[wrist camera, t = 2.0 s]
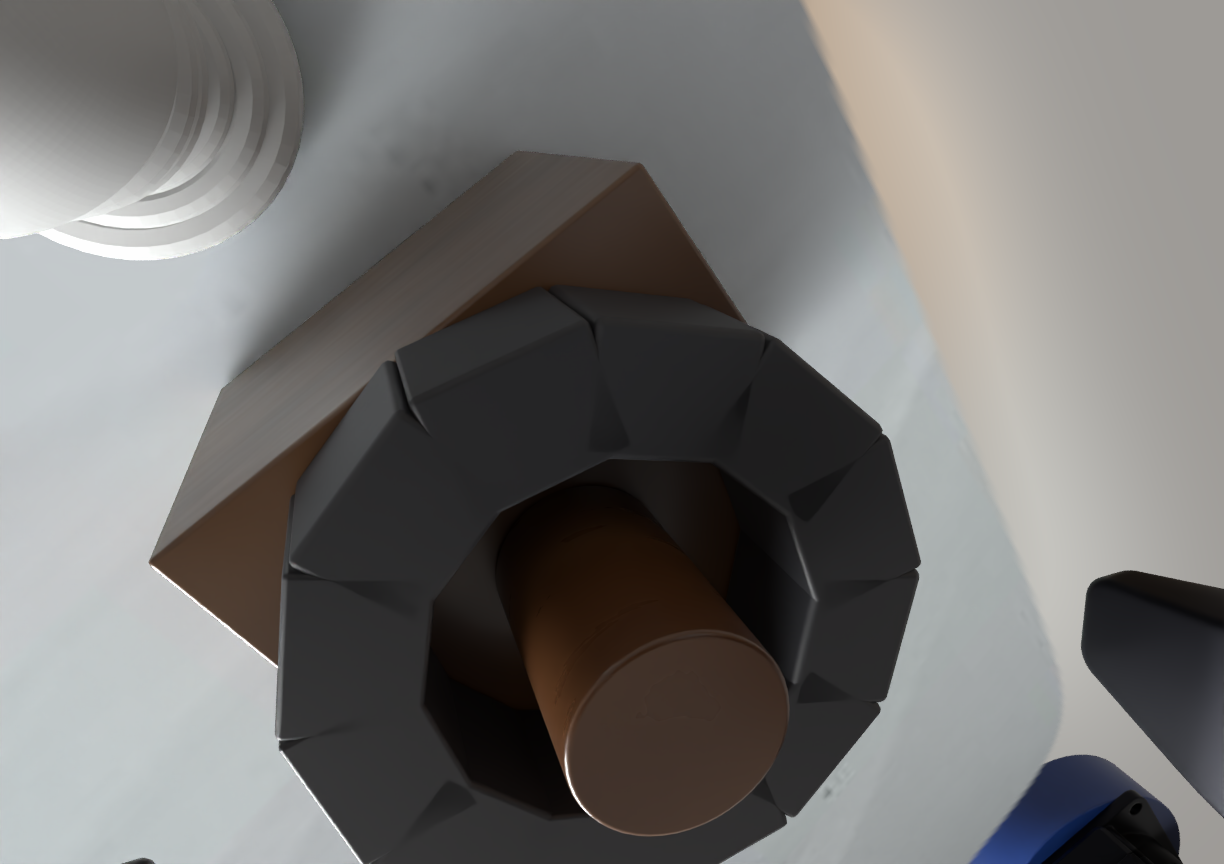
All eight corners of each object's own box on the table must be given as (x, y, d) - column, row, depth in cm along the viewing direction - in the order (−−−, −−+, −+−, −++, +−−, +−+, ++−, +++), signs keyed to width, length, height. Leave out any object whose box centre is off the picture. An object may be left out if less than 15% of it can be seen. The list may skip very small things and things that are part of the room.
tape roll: (914, 564, 13) (1011, 636, 11) (533, 885, 12) (567, 1014, 11) (643, 147, 10) (717, 150, 8) (131, 565, 9) (83, 669, 8)
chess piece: (108, -189, 13) (-279, -754, 5) (373, 113, 15) (424, 92, 7) (-163, 55, 13) (-1039, -79, 5) (143, 320, 15) (-75, 545, 7)
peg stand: (714, 419, 19) (1100, 710, 9) (465, 625, 19) (604, 1133, 9) (517, 148, 16) (796, 175, 6) (219, 390, 16) (49, 785, 6)
